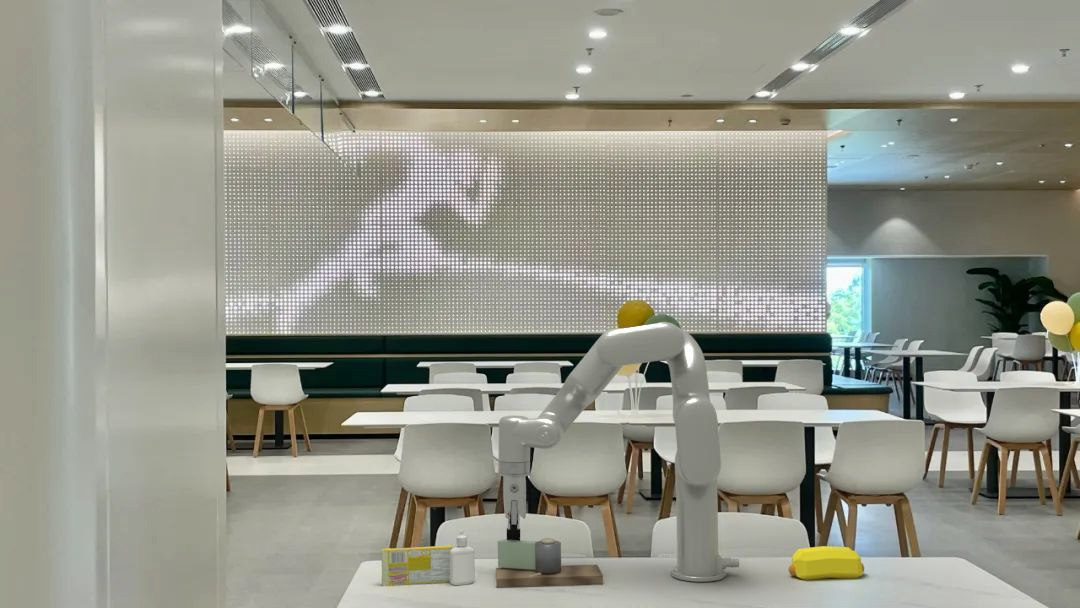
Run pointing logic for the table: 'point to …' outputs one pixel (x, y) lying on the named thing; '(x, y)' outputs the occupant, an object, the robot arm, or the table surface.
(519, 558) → the grey and green piece
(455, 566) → the eye dropper bottle
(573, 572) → the post base
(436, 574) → the candy box
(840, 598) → the table surface
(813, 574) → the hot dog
